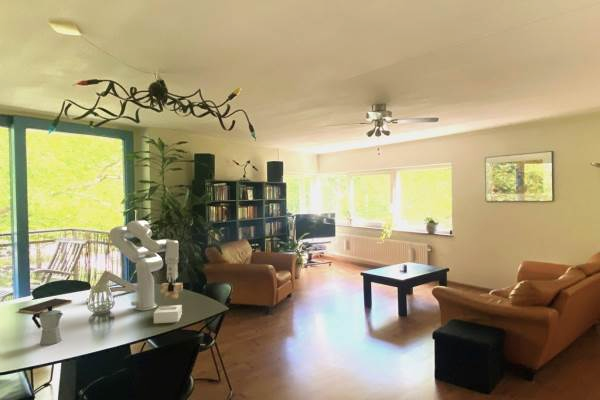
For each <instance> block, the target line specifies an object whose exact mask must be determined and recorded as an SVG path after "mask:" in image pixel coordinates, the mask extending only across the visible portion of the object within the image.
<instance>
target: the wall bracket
mask: <svg viewBox="0 0 600 400" xmlns="http://www.w3.org/2000/svg"><path fill="white" fill-rule="evenodd" d="M109 282H112V283H114V284H116V285H118V286H114V287H113V286H111V287H109V288H110V290H111V293H115V292H126V293H130V294H132V293H133V292H134V293H136V292H138V285H135V284H133V283H132V282H129V281H128V280H126V279H124V278H122V277H120V276H118V275H116V274H114V273H112V272H110V271H107V270H104V271H103V272H102V274H101V275H100V278H99V279H98V280H97V283H96V284H95V286H98V285H106V286H107V285H108V283H109ZM87 300H88V298H87V299H86V303H88V302H87Z"/></svg>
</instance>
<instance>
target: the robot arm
mask: <svg viewBox="0 0 600 400" xmlns="http://www.w3.org/2000/svg"><path fill="white" fill-rule="evenodd" d="M152 235H153V231H152V229H150V224H149V222H148V221H146V220H144V219H138V220H132V221H129V222H128V223H127V224H126V225H119V226H115V227H113V228H112V229H110V231H109V240H110V242H111V244H112V245H113V246H114V247H115V248H116V249H118V251H120V252H121V253H122V254H123V255H124V256H125V258H127V259H128V260H129V261H130V262H131V263H136V264H135V271H136V275H137V286H138V291H137V301H131V306H135V310H136V311H143V312H144V311H150V310H153V309H157V308H158V304H157V303H156V302H155V278H154V275H153V274H152V272H156V271H159V270H160V269H162V268H163V266H164V261H163V259H162V257H161V256H160V255H159V254H157V253H161V252H165V265H166V280H167V281H168V282H167V283H168V291H174V285H173V283H177V281H176V280H177V279H178V277H179V272H178V271H179V269H178V267H179V266H178V264H179V246H180V245H179V241H178V240H177V239H176V240H175V239H168V238H162V239H156V240H154V239H152V238H151V237H152ZM131 238H137V239H139V240H140V242H141V243H140V244H141V245H142V246H136V244H134V243H133V241H131V240H128V239H131Z"/></svg>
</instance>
